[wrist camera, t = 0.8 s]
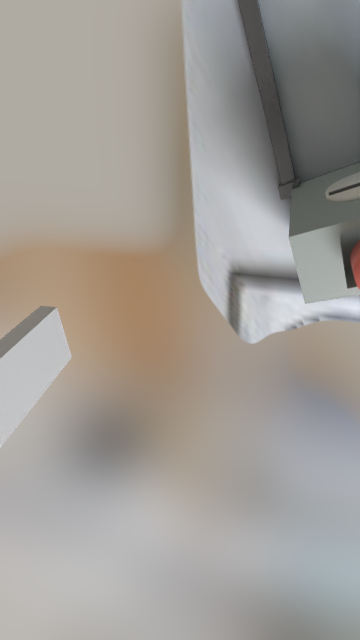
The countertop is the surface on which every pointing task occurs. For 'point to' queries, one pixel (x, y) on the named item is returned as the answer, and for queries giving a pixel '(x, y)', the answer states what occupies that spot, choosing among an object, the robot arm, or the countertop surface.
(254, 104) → the countertop surface
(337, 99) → the countertop surface
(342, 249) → the cabinet
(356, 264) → the button
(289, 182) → the guide rail
